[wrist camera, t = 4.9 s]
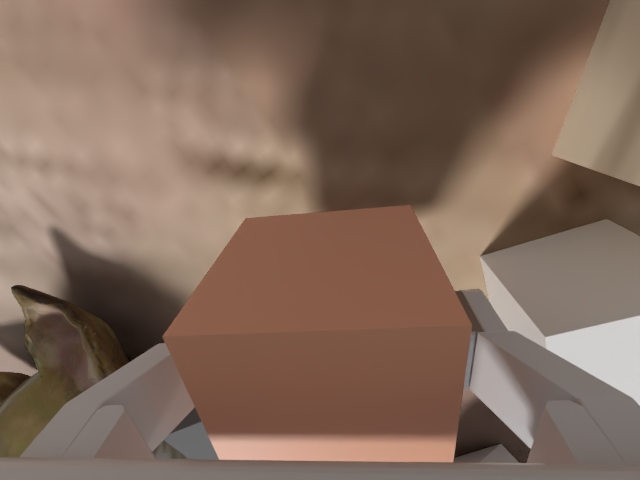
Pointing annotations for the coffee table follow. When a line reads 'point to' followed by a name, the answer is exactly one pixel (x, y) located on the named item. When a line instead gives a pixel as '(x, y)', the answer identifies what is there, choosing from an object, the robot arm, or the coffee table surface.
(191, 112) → the coffee table surface
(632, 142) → the birch cube
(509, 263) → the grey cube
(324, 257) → the terracotta cube
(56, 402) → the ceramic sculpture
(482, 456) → the die
